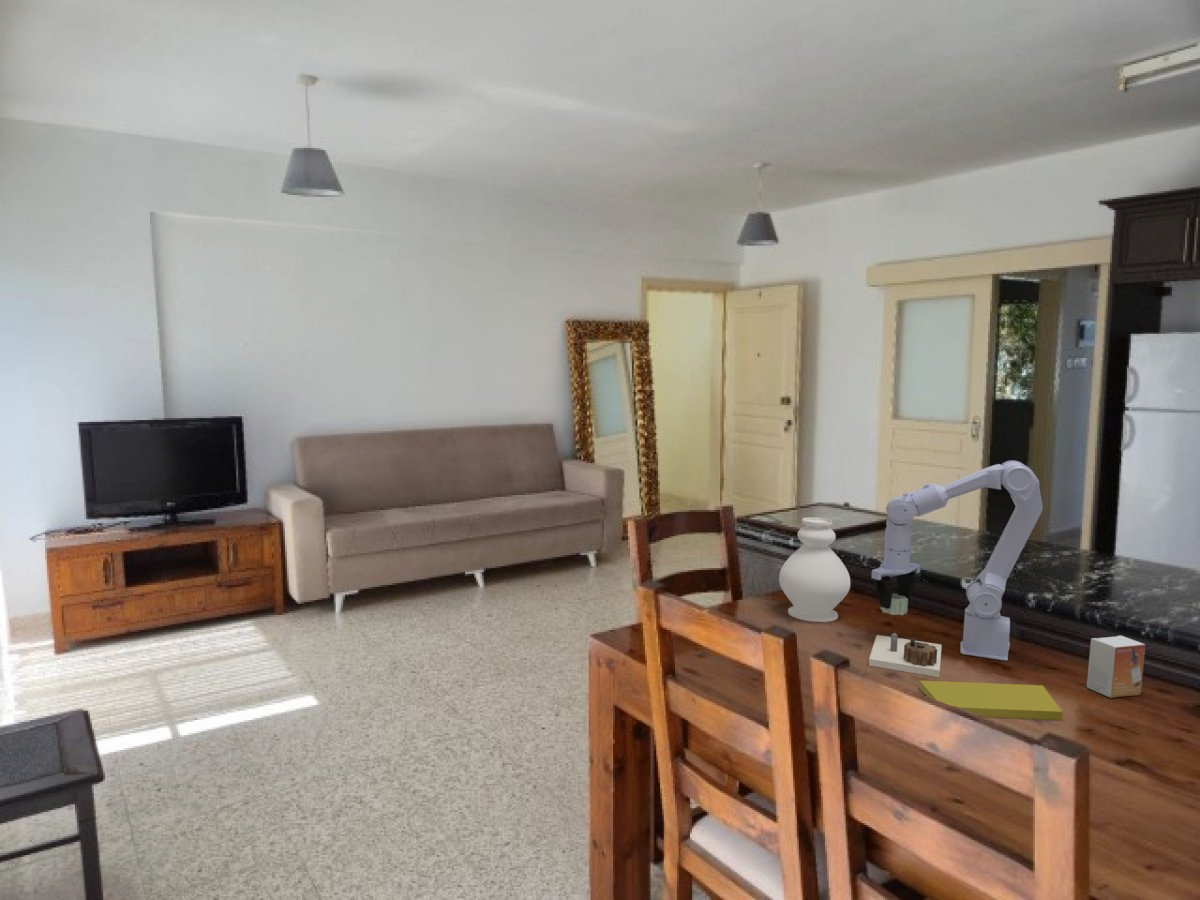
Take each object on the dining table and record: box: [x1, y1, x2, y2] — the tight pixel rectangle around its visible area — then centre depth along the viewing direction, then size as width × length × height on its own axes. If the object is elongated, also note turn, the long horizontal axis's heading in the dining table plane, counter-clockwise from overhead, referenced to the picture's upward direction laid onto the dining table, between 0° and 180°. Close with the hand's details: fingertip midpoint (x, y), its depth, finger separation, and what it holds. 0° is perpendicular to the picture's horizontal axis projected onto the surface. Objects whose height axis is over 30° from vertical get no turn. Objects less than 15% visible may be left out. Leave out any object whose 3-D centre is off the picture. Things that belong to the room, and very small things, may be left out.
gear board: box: [868, 632, 942, 678], centre depth 172 cm, size 14×17×6 cm
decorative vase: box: [778, 516, 851, 623], centre depth 201 cm, size 18×18×25 cm
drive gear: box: [904, 637, 937, 666], centre depth 167 cm, size 6×6×4 cm
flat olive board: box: [918, 680, 1064, 721], centre depth 149 cm, size 12×2×24 cm
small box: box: [1086, 635, 1147, 699], centre depth 156 cm, size 8×6×10 cm
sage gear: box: [880, 593, 909, 616], centre depth 182 cm, size 6×6×3 cm
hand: (894, 605), depth 182 cm, fingers closed on sage gear, 6 cm apart
